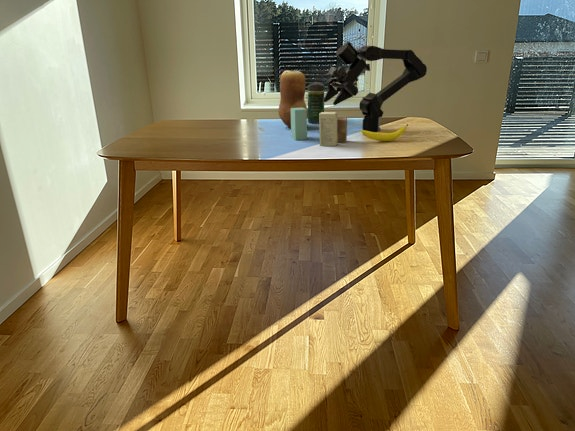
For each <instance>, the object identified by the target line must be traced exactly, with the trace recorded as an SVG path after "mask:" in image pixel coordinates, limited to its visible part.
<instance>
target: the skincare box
mask: <svg viewBox="0 0 575 431" xmlns="http://www.w3.org/2000/svg"><path fill="white" fill-rule="evenodd" d="M337 118H338V111H328V112H327V111H324V112H321V113H320V114H319V124H318V125H319V146H322V147H323V146H327V147H328V146H331V147H334V146H337V145H338V143H337Z"/></svg>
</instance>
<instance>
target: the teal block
mask: <svg viewBox="0 0 575 431" xmlns="http://www.w3.org/2000/svg"><path fill="white" fill-rule="evenodd" d="M307 110H308V108H307V109H305V108H302V107H301V108H291V128H290V133H291V134H290V136H291V137H290V138H291V139H292V140H294V141H299V140H308V117H307Z"/></svg>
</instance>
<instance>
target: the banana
mask: <svg viewBox="0 0 575 431" xmlns="http://www.w3.org/2000/svg"><path fill="white" fill-rule="evenodd" d="M408 126H409V124H406V125H404V126H402V127H400V128H399V129H398V130H396V131H394V132H371V131H365V130H363V129H360V130H359V131H360V133H361V134H363V136H365V137H366V138H368V139H371V140H373V141H374V140H375V141H378V142H391V141H394V140H396V139H398V138H399V137H401V136H402V135H403V134H404V132H405V131H406V130H407V127H408Z"/></svg>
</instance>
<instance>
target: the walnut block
mask: <svg viewBox="0 0 575 431" xmlns="http://www.w3.org/2000/svg"><path fill="white" fill-rule="evenodd" d="M347 137H348V117H337V144H346V143H347Z"/></svg>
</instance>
